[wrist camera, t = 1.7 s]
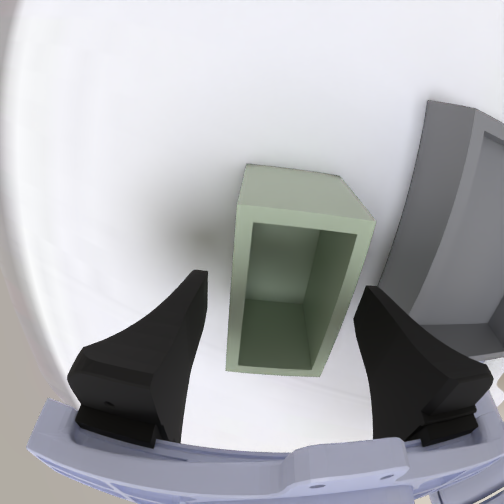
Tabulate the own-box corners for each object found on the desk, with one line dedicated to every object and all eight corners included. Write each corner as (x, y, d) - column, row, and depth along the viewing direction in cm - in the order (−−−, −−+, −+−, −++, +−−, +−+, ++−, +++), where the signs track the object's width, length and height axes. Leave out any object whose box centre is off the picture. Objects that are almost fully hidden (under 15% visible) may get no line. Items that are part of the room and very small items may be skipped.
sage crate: (308, 305, 20) (319, 376, 15) (234, 299, 20) (225, 370, 14) (339, 175, 15) (376, 221, 10) (246, 163, 15) (237, 204, 10)
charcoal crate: (484, 323, 21) (505, 356, 17) (361, 324, 21) (377, 371, 17) (550, 164, 13) (587, 184, 9) (427, 100, 12) (475, 108, 9)
